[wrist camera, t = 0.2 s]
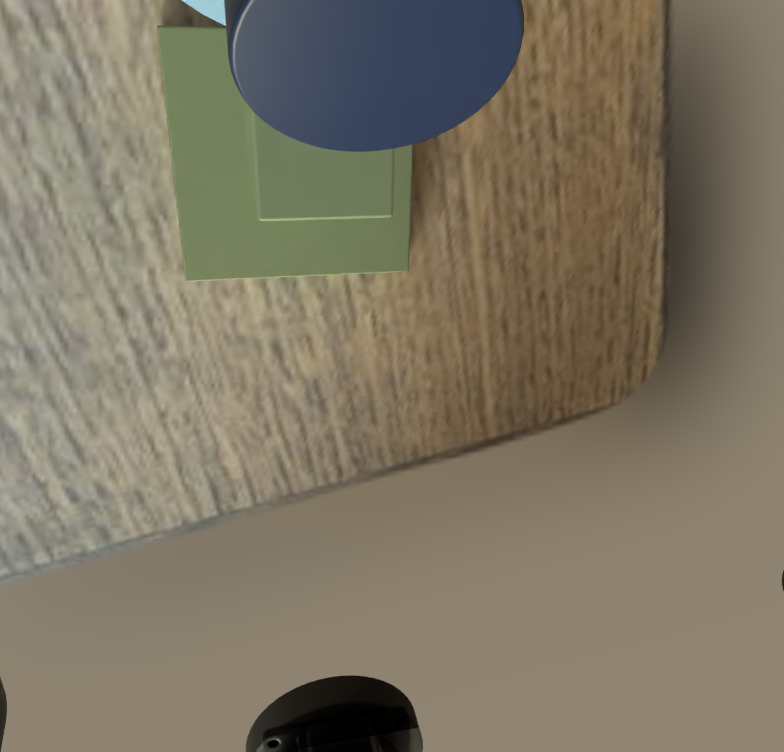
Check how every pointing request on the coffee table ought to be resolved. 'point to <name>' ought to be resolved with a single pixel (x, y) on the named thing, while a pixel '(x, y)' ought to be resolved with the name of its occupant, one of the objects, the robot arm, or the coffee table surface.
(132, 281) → the coffee table surface
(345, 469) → the coffee table surface
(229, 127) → the green stepped block
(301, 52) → the bottle
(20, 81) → the coffee table surface
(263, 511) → the coffee table surface
